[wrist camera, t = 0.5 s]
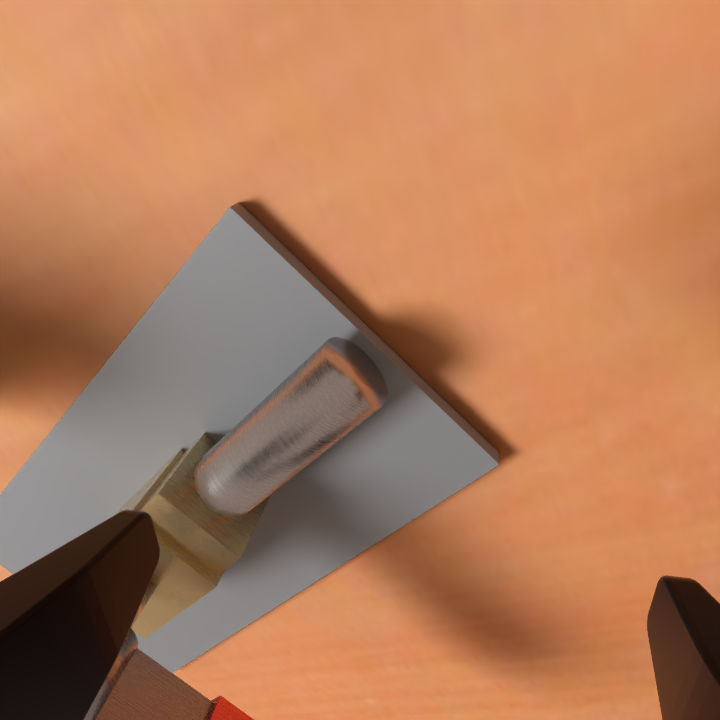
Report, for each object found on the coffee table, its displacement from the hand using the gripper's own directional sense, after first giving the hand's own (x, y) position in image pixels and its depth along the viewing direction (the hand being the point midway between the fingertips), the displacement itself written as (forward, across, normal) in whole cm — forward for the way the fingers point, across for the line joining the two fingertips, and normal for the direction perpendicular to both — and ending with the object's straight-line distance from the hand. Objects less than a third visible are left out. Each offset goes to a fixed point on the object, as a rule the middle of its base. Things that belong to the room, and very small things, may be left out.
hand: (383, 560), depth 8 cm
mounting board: (+13, +12, +11) cm, 21 cm away
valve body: (+13, +12, +11) cm, 21 cm away
